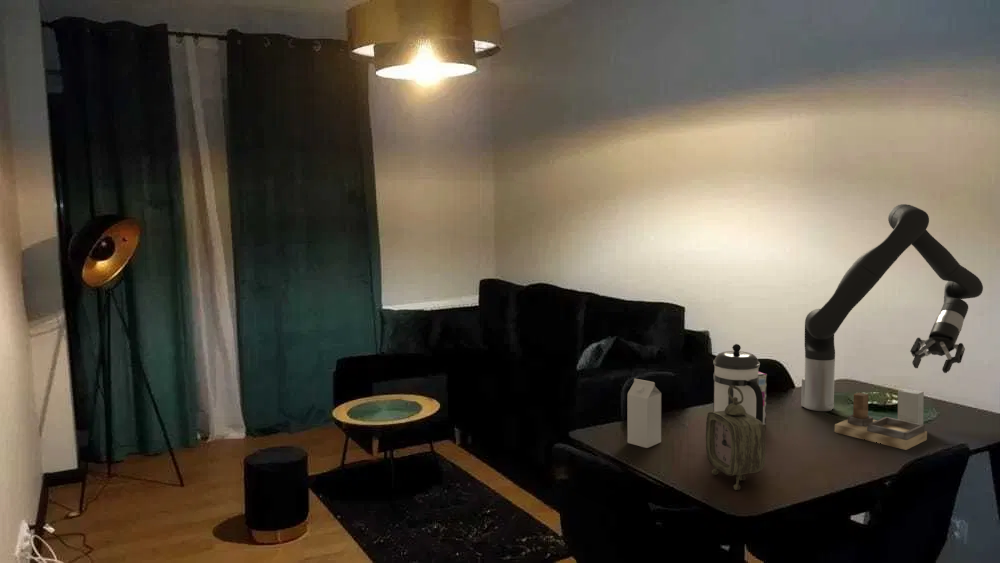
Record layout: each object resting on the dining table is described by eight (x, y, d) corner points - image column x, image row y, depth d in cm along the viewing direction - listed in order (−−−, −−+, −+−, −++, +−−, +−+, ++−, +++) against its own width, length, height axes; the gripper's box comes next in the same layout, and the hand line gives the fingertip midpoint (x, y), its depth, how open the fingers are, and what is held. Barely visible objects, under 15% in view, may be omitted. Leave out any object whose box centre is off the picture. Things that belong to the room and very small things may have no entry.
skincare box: (923, 430, 229) (925, 391, 228) (917, 433, 226) (919, 394, 225) (902, 425, 234) (904, 387, 232) (895, 428, 231) (897, 390, 230)
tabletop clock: (705, 473, 199) (706, 380, 196) (736, 469, 201) (737, 378, 198) (734, 494, 185) (735, 395, 182) (767, 490, 187) (769, 392, 184)
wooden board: (834, 432, 229) (835, 395, 228) (856, 423, 237) (857, 387, 236) (906, 450, 213) (907, 410, 211) (926, 439, 221) (928, 401, 219)
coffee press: (699, 449, 217) (700, 347, 214) (718, 433, 230) (719, 337, 227) (761, 460, 207) (763, 353, 204) (777, 443, 220) (779, 342, 217)
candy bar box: (766, 425, 238) (768, 374, 236) (753, 426, 236) (754, 375, 234) (746, 415, 248) (746, 366, 246) (732, 416, 247) (733, 367, 245)
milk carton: (641, 437, 229) (641, 376, 226) (661, 442, 224) (661, 380, 221) (627, 443, 224) (627, 380, 221) (647, 448, 219) (647, 384, 216)
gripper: (920, 318, 244) (902, 358, 239) (968, 323, 233) (951, 366, 228) (926, 332, 248) (909, 372, 243) (974, 337, 237) (957, 380, 231)
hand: (929, 369), depth 235 cm, fingers open, 8 cm apart
